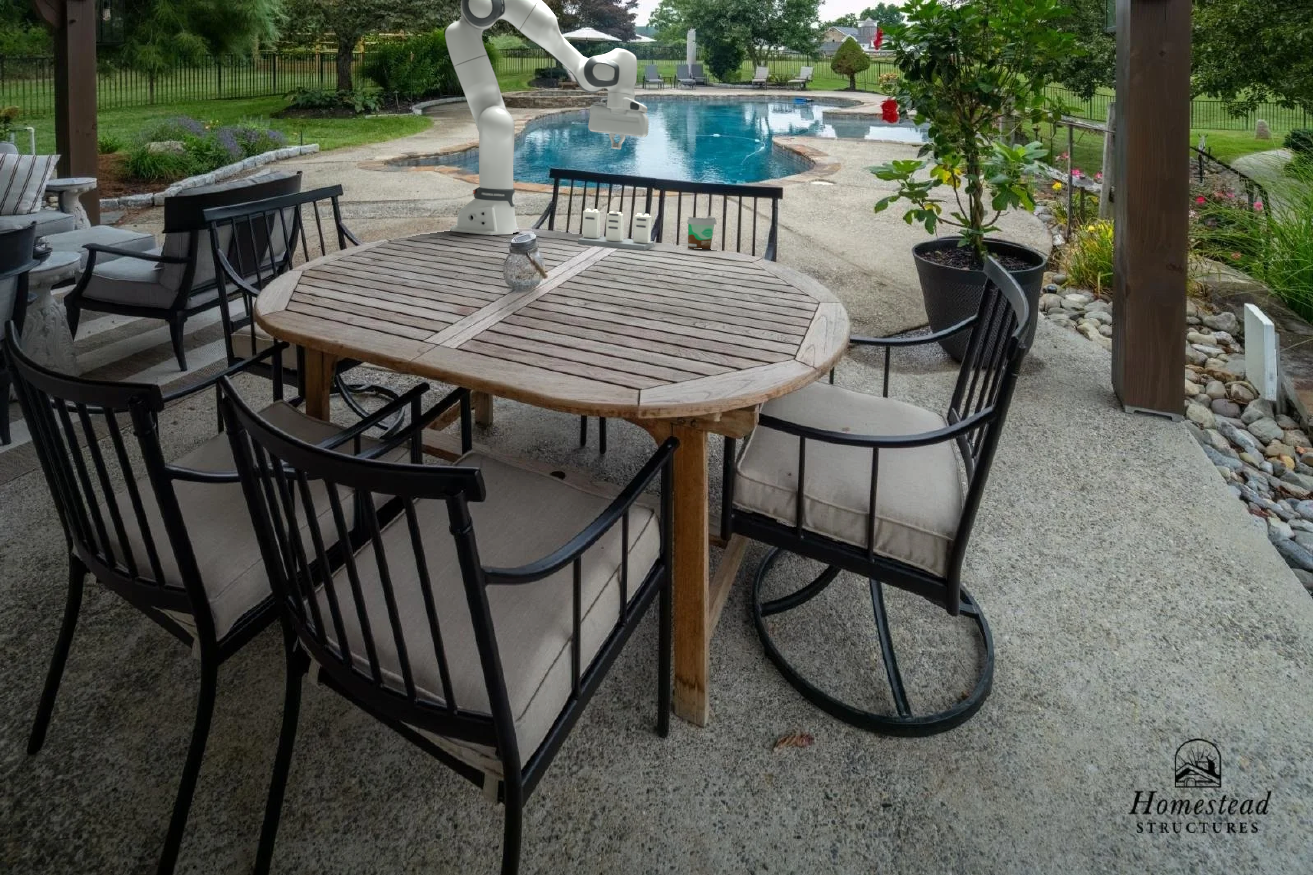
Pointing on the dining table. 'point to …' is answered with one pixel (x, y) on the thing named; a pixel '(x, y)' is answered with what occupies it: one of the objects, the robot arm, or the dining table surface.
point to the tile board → (616, 243)
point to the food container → (700, 232)
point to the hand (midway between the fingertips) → (616, 148)
